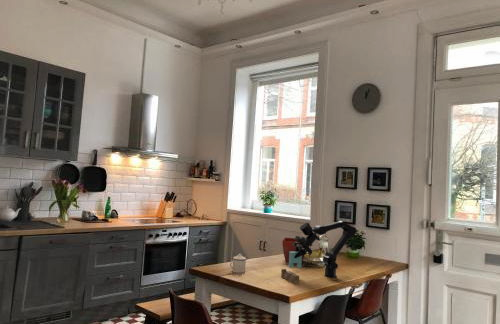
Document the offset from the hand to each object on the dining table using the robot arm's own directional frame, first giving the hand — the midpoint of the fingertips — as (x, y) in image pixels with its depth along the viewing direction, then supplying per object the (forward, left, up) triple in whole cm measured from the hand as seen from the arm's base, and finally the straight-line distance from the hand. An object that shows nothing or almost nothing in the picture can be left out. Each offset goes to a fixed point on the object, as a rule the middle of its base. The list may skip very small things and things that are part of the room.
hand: (293, 257), depth 262 cm
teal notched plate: (-1, -1, -7) cm, 7 cm away
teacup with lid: (+32, +19, -13) cm, 40 cm away
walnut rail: (-3, +7, -13) cm, 15 cm away
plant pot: (+32, -46, -13) cm, 58 cm away
